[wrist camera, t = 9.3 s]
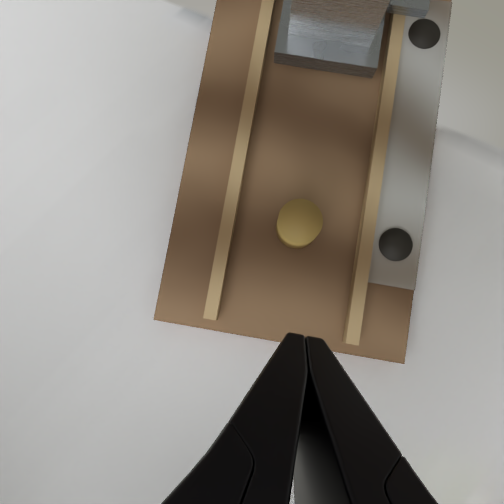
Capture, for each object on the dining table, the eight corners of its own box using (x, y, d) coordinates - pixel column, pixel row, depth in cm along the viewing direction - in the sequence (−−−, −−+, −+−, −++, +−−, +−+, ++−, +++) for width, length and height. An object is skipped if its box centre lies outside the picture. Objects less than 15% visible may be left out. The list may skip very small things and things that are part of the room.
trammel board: (397, 361, 23) (419, 369, 20) (157, 319, 23) (143, 320, 20) (448, -26, 25) (474, -71, 22) (232, -59, 26) (229, -107, 23)
